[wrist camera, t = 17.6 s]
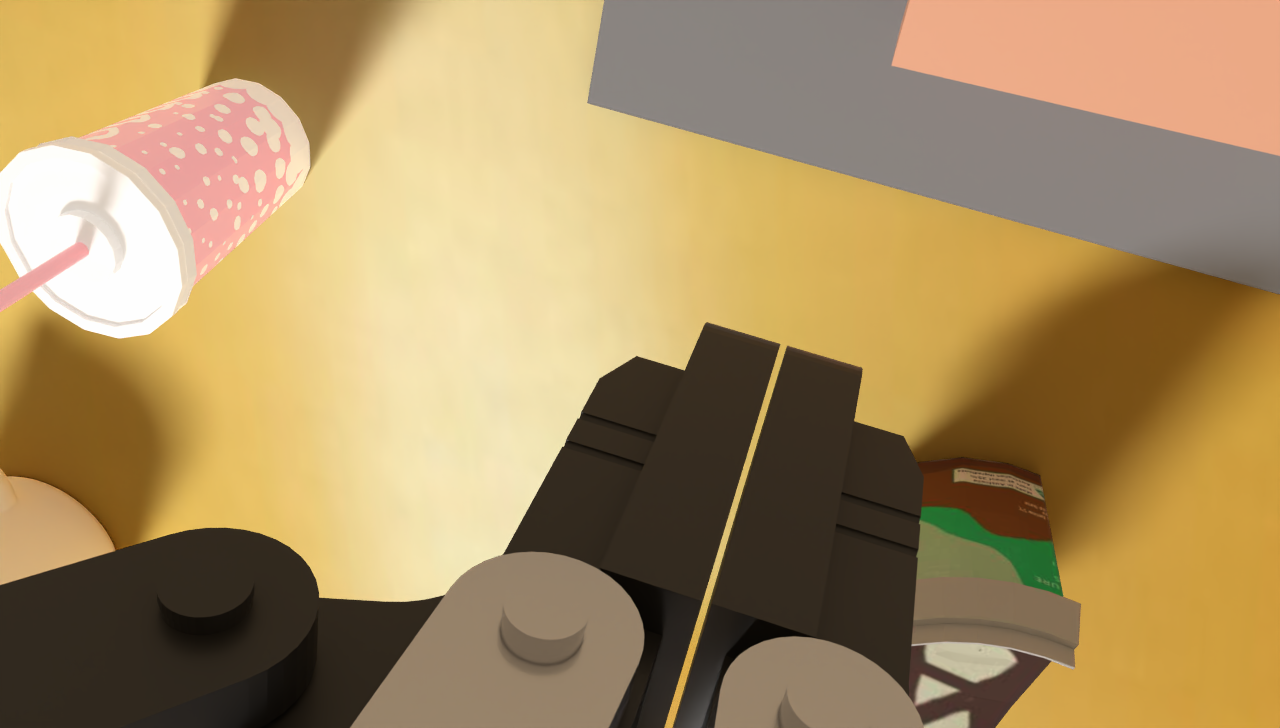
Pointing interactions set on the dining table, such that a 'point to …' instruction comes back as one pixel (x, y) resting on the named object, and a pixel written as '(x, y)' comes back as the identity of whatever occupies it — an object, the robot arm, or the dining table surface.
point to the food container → (984, 594)
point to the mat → (936, 129)
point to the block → (1114, 58)
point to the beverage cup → (147, 204)
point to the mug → (44, 529)
